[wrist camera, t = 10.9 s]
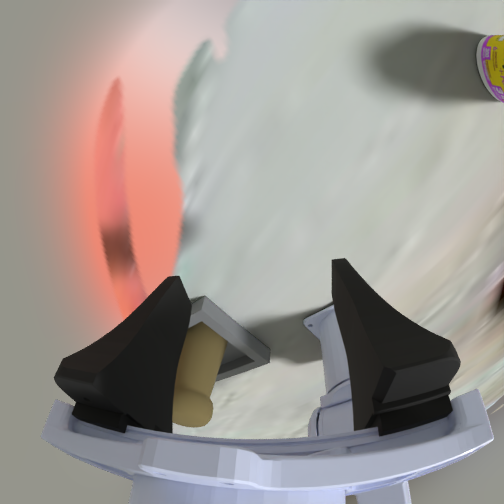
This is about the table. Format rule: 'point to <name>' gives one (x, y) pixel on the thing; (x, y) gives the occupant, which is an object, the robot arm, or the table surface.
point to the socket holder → (230, 340)
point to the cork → (197, 376)
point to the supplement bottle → (492, 64)
